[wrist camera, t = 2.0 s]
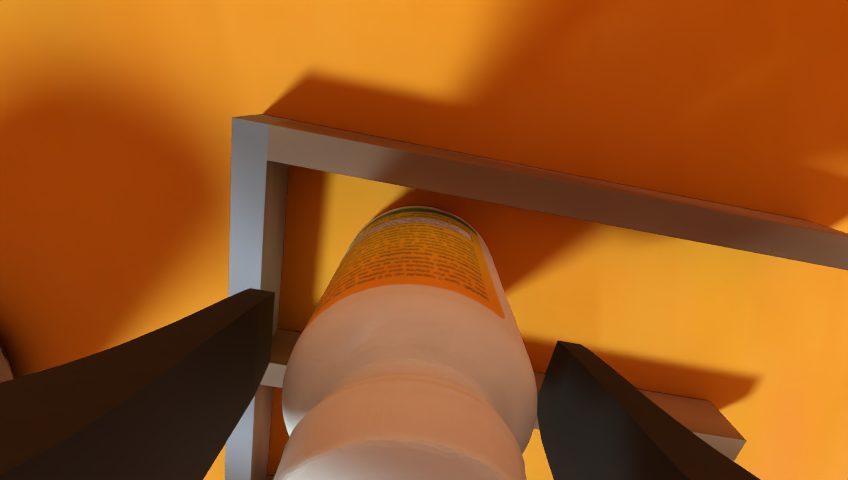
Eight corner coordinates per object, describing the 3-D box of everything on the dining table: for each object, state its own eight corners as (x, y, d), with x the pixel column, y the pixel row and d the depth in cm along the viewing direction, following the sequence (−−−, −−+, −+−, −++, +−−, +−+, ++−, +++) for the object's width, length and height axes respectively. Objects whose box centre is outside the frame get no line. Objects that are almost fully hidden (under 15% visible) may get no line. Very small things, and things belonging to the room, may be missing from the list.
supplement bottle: (516, 292, 15) (650, 593, 6) (398, 354, 16) (357, 692, 7) (442, 171, 13) (468, 328, 4) (316, 249, 14) (127, 506, 5)
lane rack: (631, 544, 20) (653, 591, 18) (244, 486, 19) (223, 531, 17) (810, 221, 14) (870, 241, 12) (261, 114, 13) (232, 117, 11)
